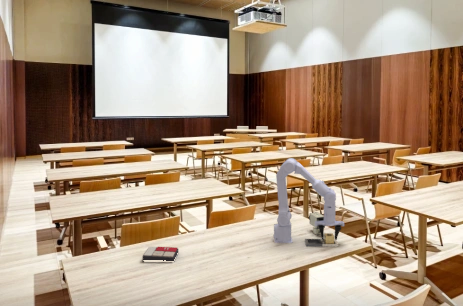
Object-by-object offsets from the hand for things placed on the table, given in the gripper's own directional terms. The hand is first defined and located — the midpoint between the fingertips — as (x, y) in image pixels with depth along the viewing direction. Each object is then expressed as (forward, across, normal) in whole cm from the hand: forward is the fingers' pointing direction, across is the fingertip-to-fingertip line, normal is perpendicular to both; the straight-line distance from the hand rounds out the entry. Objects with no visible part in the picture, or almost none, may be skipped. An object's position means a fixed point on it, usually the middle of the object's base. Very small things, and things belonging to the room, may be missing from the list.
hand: (329, 239), depth 191 cm
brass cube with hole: (+3, 0, 0) cm, 3 cm away
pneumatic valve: (+3, -4, +15) cm, 16 cm away
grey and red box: (+4, -84, -18) cm, 86 cm away
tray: (+3, -4, 0) cm, 5 cm away
